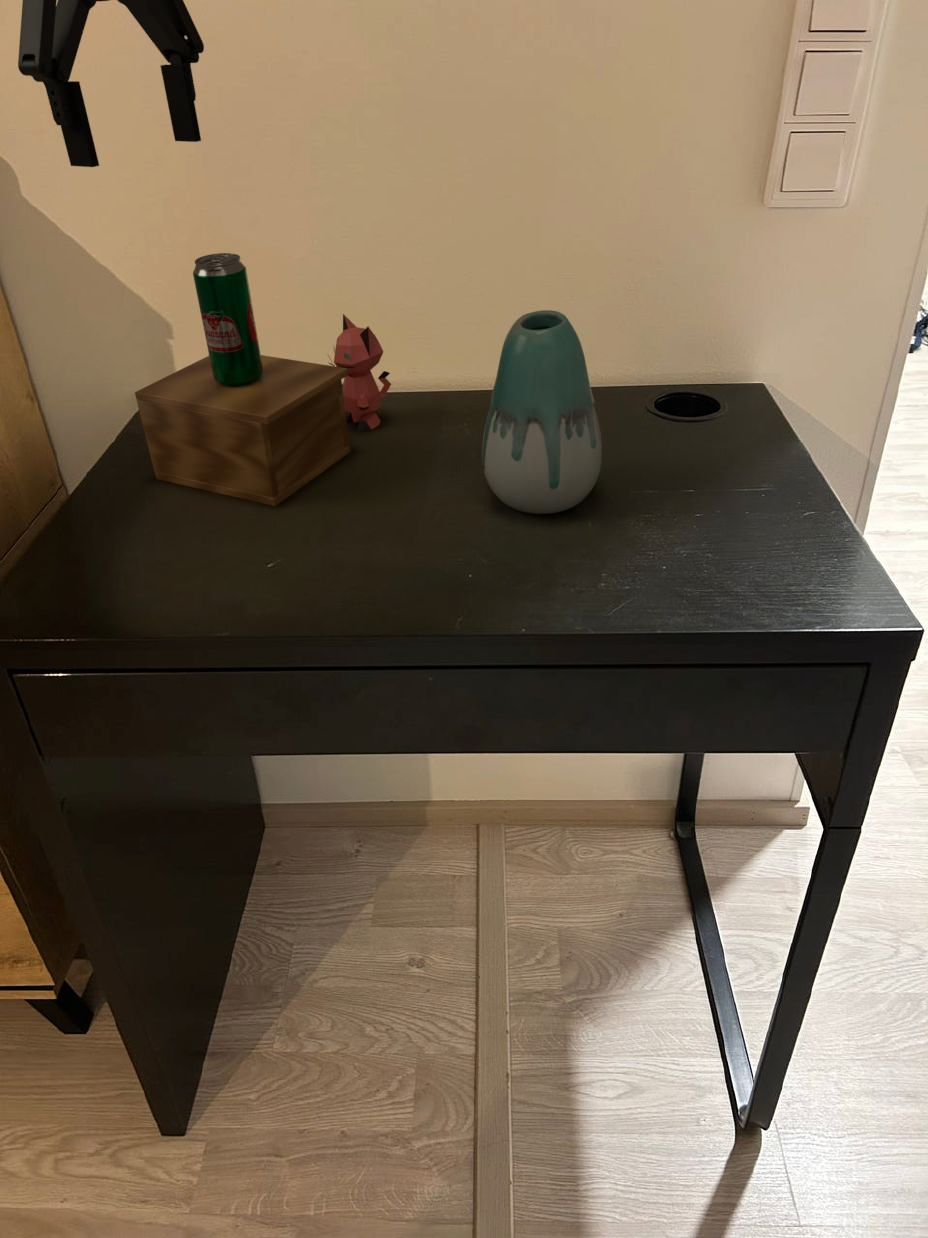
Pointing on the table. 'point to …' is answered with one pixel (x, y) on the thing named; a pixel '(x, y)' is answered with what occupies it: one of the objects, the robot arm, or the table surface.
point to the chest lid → (244, 389)
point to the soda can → (228, 319)
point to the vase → (542, 419)
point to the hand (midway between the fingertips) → (139, 153)
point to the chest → (247, 447)
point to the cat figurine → (360, 374)
